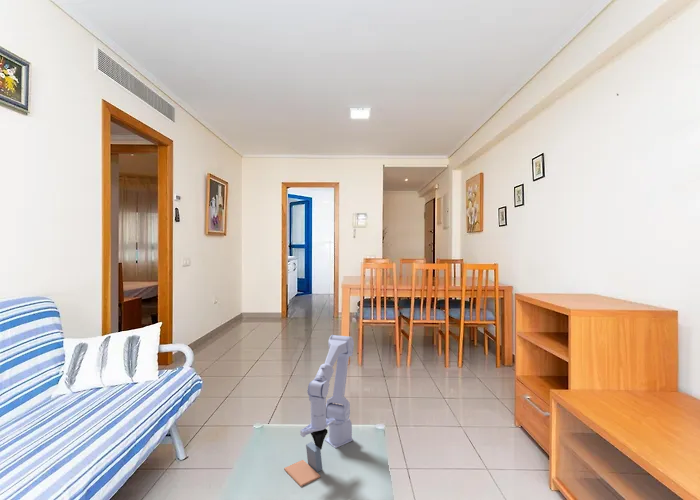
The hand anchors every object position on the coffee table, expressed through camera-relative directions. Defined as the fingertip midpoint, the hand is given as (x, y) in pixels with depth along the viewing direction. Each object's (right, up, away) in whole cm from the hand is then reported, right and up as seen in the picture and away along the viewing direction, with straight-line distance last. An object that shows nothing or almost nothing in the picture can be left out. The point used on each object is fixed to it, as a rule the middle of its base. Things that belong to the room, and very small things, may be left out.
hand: (318, 448), depth 135 cm
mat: (-6, -7, -4) cm, 10 cm away
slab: (-1, -6, -1) cm, 7 cm away
